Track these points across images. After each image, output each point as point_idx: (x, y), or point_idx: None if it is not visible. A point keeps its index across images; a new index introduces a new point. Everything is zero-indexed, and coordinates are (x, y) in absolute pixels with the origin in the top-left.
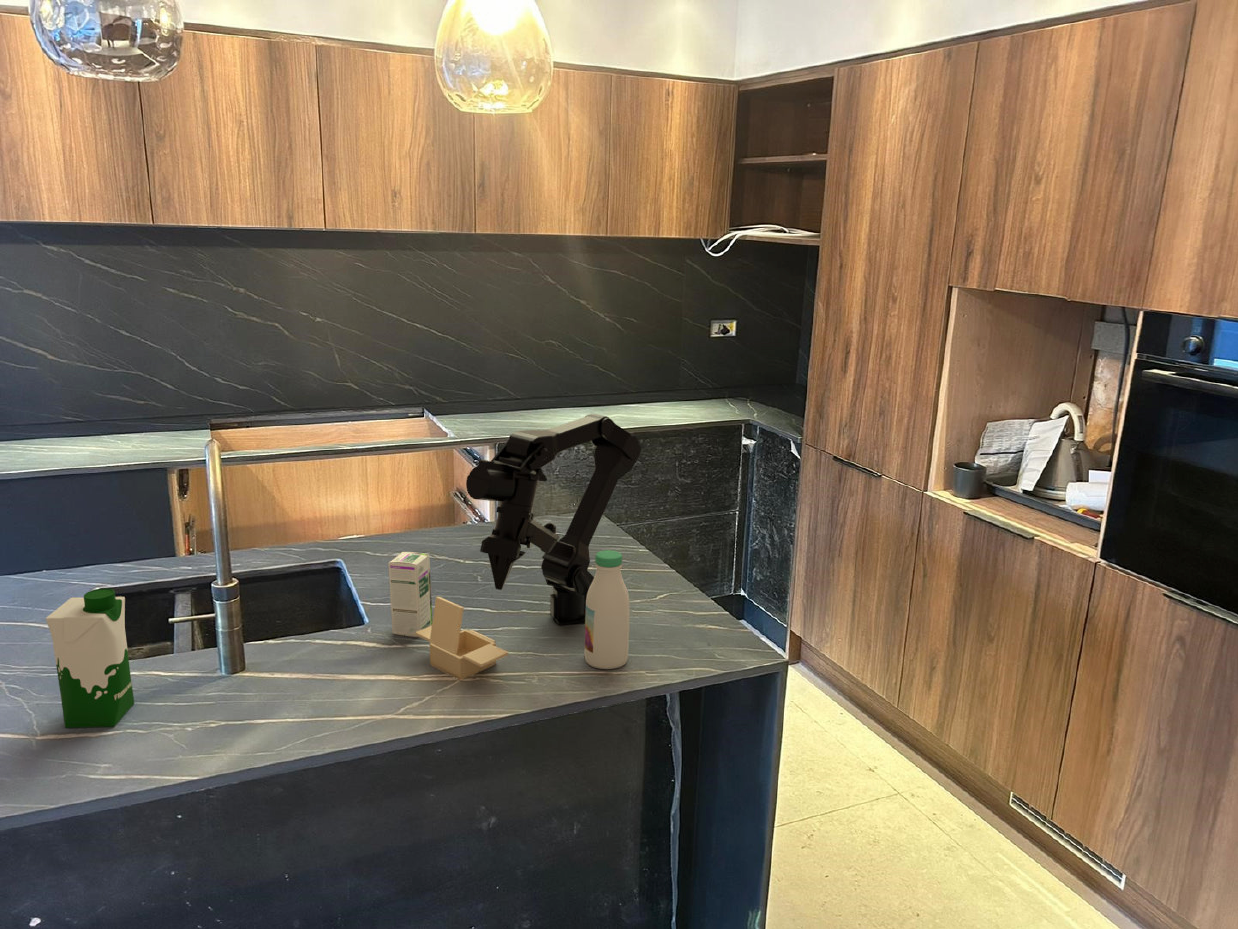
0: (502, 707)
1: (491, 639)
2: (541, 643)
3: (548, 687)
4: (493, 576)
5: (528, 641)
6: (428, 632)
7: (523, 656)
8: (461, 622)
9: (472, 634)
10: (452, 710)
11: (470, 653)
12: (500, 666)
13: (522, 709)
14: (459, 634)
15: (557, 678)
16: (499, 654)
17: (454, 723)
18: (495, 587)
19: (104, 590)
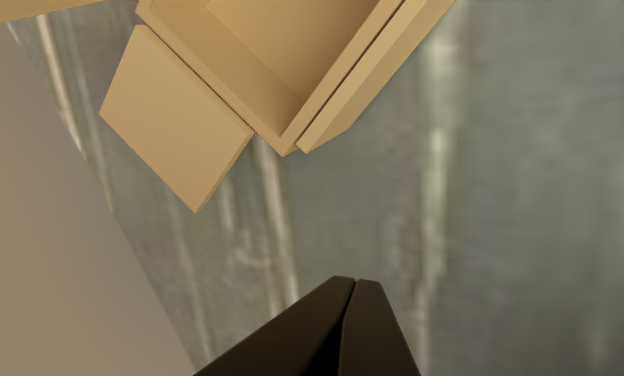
0: (109, 163)
1: (314, 135)
2: (526, 319)
3: (215, 288)
4: (248, 336)
5: (553, 269)
6: None
7: (401, 236)
8: (3, 21)
9: (365, 21)
10: (64, 24)
11: (155, 56)
12: (316, 149)
13: (114, 212)
14: (60, 8)
15: (263, 320)
16: (171, 179)
17: (25, 44)
18: (330, 279)
19: None
